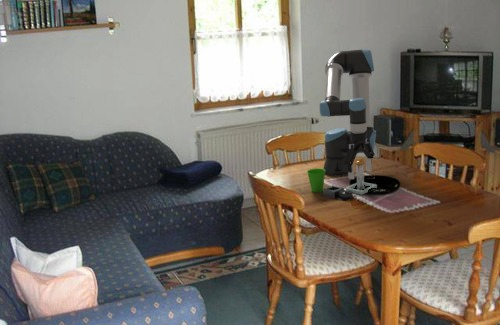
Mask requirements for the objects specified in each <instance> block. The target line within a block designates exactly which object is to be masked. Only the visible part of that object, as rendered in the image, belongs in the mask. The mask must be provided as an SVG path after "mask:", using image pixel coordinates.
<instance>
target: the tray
mask: <svg viewBox="0 0 500 325" xmlns="http://www.w3.org/2000/svg"><path fill="white" fill-rule="evenodd" d="M356 185H357V182H356V183H353V184H350V185H348V186H346V187H345V188H344V189H348V191H352V192H353V194H355V195H356V194H357V195H361V196H362V195H364V194H366V193H368V190H369V189H371V188H376V189H377V188H378V184H376V183H369V182H365V181H364V185H365V186H364V187H366V186H370V187H366V188H364V190H361V191H360V190H357V189H355V186H356Z"/></svg>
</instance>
